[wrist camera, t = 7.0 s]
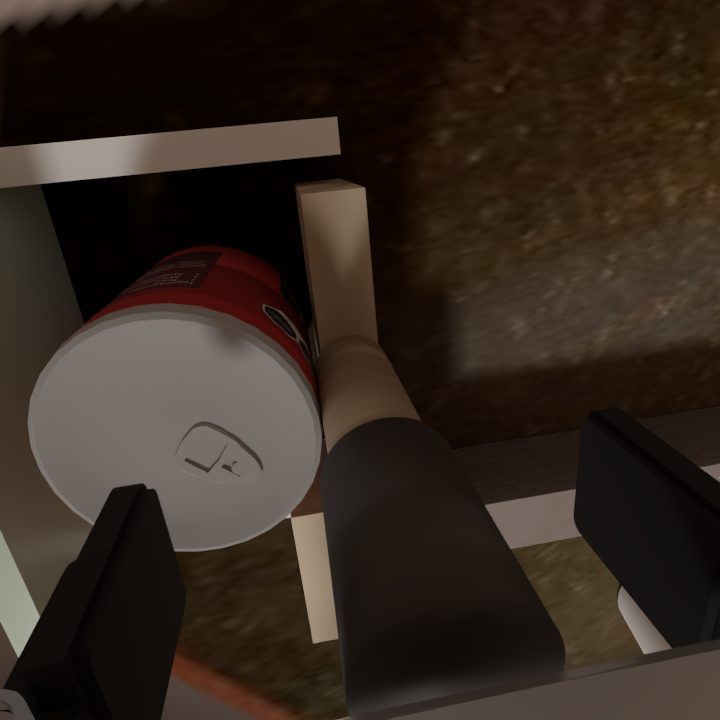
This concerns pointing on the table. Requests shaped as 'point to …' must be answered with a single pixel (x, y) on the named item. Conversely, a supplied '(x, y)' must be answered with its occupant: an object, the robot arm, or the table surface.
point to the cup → (640, 625)
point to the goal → (79, 322)
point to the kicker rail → (566, 473)
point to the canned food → (186, 400)
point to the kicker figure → (397, 508)
